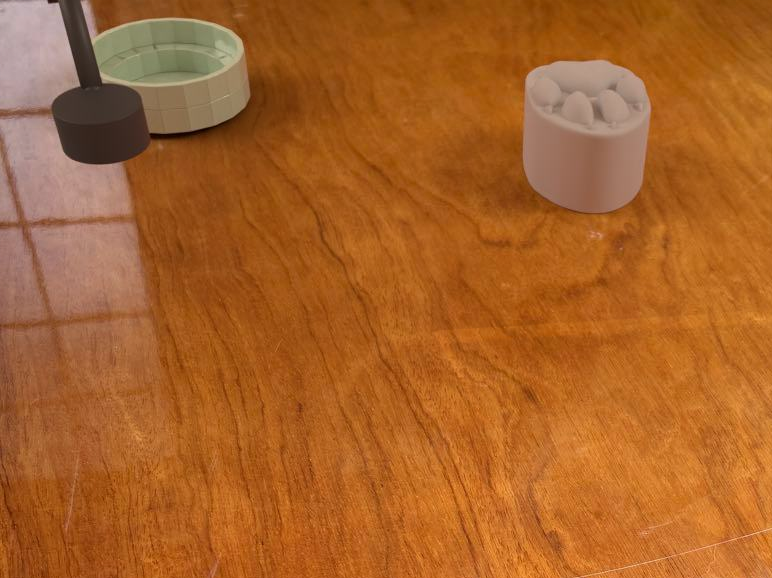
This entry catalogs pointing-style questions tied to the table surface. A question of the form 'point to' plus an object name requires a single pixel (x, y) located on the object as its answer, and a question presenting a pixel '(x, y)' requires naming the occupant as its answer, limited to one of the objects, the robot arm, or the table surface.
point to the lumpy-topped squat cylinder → (585, 134)
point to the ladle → (96, 105)
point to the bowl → (177, 70)
